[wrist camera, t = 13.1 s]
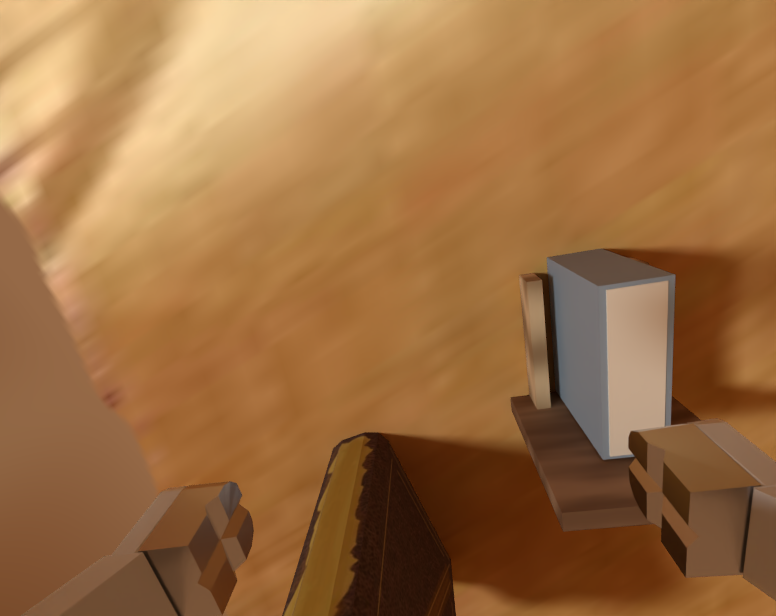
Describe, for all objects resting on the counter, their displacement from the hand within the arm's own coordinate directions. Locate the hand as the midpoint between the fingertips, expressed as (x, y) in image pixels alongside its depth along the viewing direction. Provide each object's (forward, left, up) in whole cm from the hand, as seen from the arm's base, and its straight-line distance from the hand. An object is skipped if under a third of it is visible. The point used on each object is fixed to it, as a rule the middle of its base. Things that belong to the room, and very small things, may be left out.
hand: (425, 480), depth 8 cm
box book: (+9, +13, -28) cm, 32 cm away
